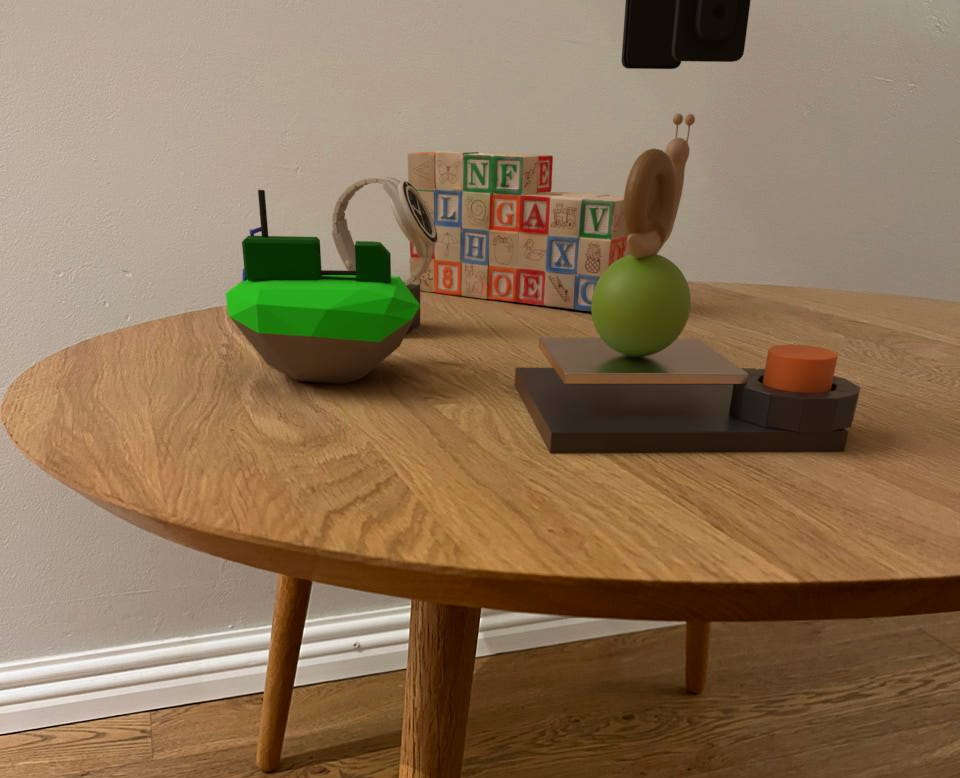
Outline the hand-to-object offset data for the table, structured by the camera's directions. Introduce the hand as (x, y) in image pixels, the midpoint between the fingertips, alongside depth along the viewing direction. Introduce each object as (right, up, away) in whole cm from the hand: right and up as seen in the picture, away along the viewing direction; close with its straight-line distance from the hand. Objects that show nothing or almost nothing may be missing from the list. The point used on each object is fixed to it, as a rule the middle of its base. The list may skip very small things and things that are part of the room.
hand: (676, 65), depth 46 cm
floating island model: (-20, -12, +15) cm, 27 cm away
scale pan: (-1, -13, +7) cm, 15 cm away
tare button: (+8, -15, +5) cm, 17 cm away
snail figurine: (-1, -12, +7) cm, 14 cm away
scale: (+1, -15, +9) cm, 18 cm away
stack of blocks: (-6, +4, +44) cm, 44 cm away
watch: (-17, -4, +29) cm, 34 cm away
